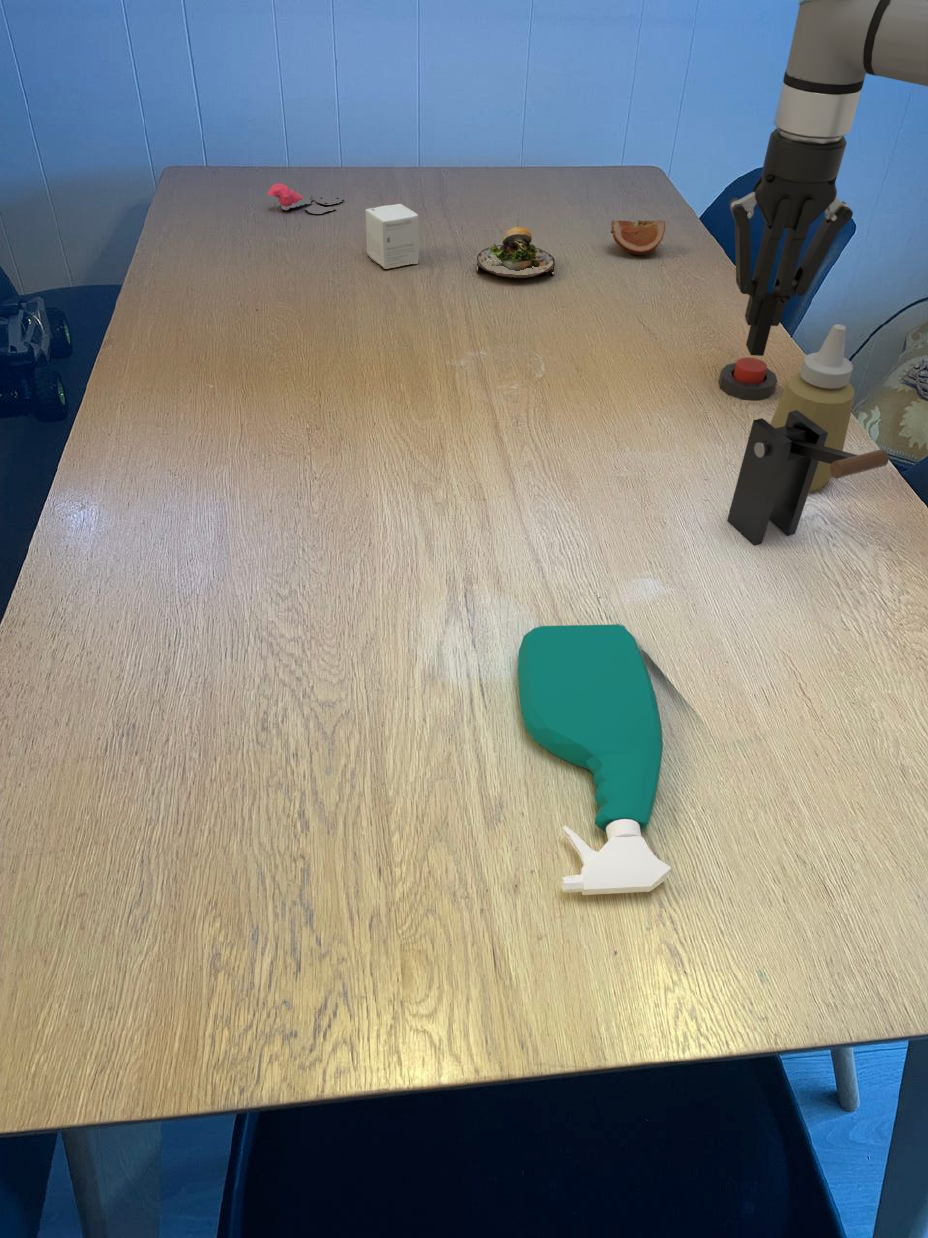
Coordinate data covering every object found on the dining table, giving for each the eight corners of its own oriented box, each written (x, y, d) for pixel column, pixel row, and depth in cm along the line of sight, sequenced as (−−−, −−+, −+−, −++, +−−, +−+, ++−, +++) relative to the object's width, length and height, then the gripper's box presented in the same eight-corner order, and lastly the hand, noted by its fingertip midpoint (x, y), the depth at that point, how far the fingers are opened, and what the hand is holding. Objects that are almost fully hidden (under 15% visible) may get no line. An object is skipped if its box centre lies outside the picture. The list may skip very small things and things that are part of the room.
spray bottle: (635, 645, 81) (700, 900, 63) (511, 647, 81) (540, 905, 63) (641, 620, 79) (709, 877, 61) (513, 622, 79) (544, 881, 61)
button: (769, 381, 112) (773, 368, 110) (745, 387, 110) (748, 373, 109) (751, 368, 114) (754, 355, 113) (727, 373, 113) (730, 360, 112)
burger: (463, 277, 139) (464, 226, 134) (492, 250, 147) (494, 200, 142) (539, 292, 136) (543, 240, 131) (565, 263, 144) (569, 213, 139)
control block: (800, 417, 111) (807, 394, 109) (752, 428, 109) (758, 405, 107) (750, 380, 117) (756, 358, 115) (704, 390, 115) (709, 368, 113)
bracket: (815, 556, 91) (854, 443, 82) (756, 573, 89) (791, 459, 80) (758, 506, 97) (790, 396, 88) (702, 521, 95) (729, 409, 86)
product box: (383, 271, 140) (382, 221, 135) (366, 257, 144) (363, 208, 139) (420, 264, 142) (419, 214, 137) (401, 250, 146) (400, 201, 141)
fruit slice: (609, 258, 145) (613, 226, 142) (605, 242, 150) (609, 210, 147) (663, 260, 145) (668, 228, 142) (657, 244, 150) (662, 212, 147)
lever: (887, 473, 79) (890, 445, 78) (841, 485, 77) (842, 457, 76) (796, 447, 88) (797, 422, 87) (753, 458, 86) (753, 433, 85)
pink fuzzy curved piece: (312, 222, 154) (310, 194, 151) (260, 208, 158) (256, 181, 155) (355, 201, 162) (353, 174, 159) (303, 189, 166) (301, 162, 163)
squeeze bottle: (816, 465, 103) (866, 308, 91) (839, 508, 97) (897, 346, 85) (743, 465, 103) (785, 307, 91) (763, 508, 97) (810, 346, 85)
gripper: (863, 123, 97) (801, 337, 113) (737, 119, 97) (694, 333, 113) (886, 145, 91) (818, 367, 107) (753, 141, 91) (704, 363, 107)
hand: (754, 349), depth 110 cm, fingers closed
